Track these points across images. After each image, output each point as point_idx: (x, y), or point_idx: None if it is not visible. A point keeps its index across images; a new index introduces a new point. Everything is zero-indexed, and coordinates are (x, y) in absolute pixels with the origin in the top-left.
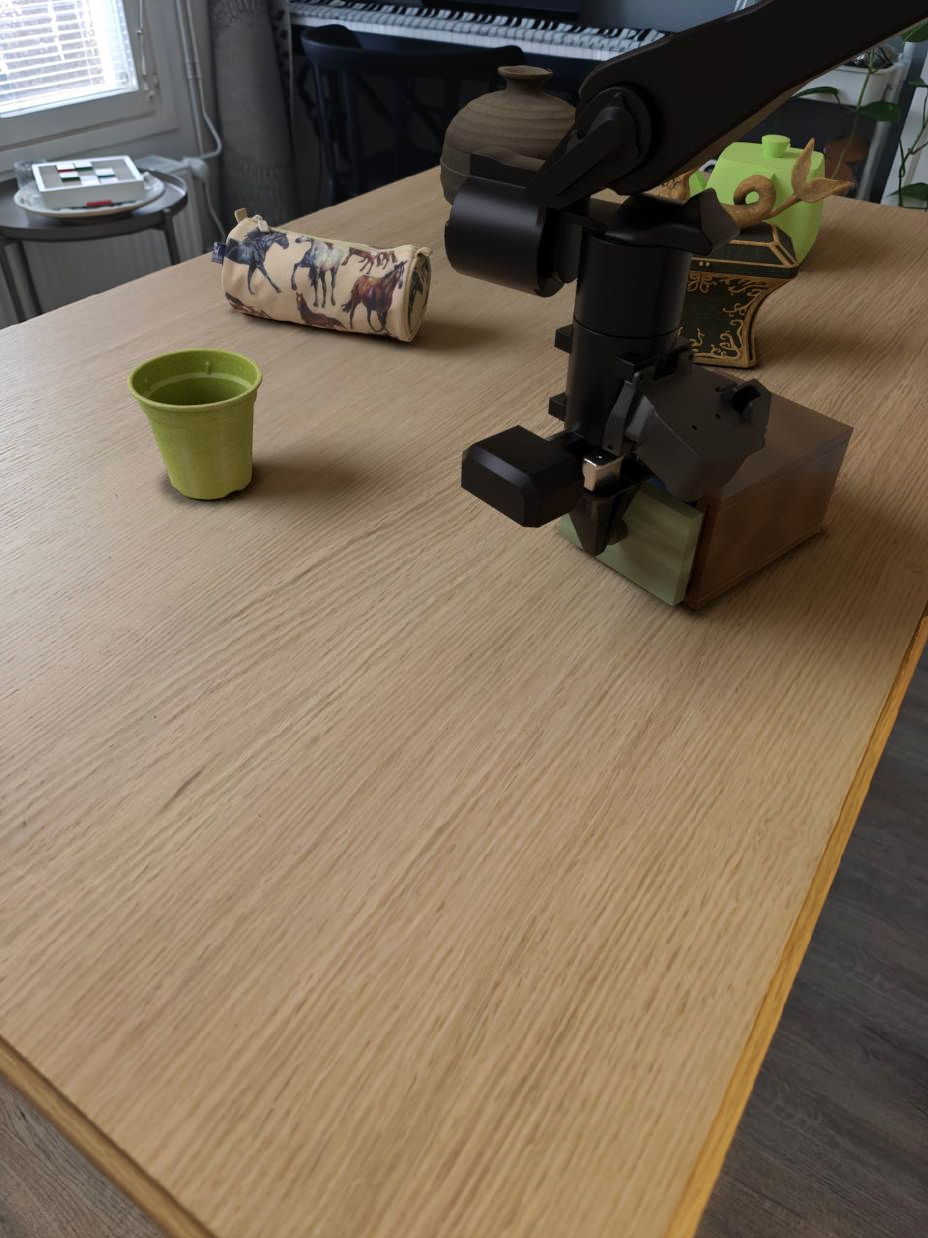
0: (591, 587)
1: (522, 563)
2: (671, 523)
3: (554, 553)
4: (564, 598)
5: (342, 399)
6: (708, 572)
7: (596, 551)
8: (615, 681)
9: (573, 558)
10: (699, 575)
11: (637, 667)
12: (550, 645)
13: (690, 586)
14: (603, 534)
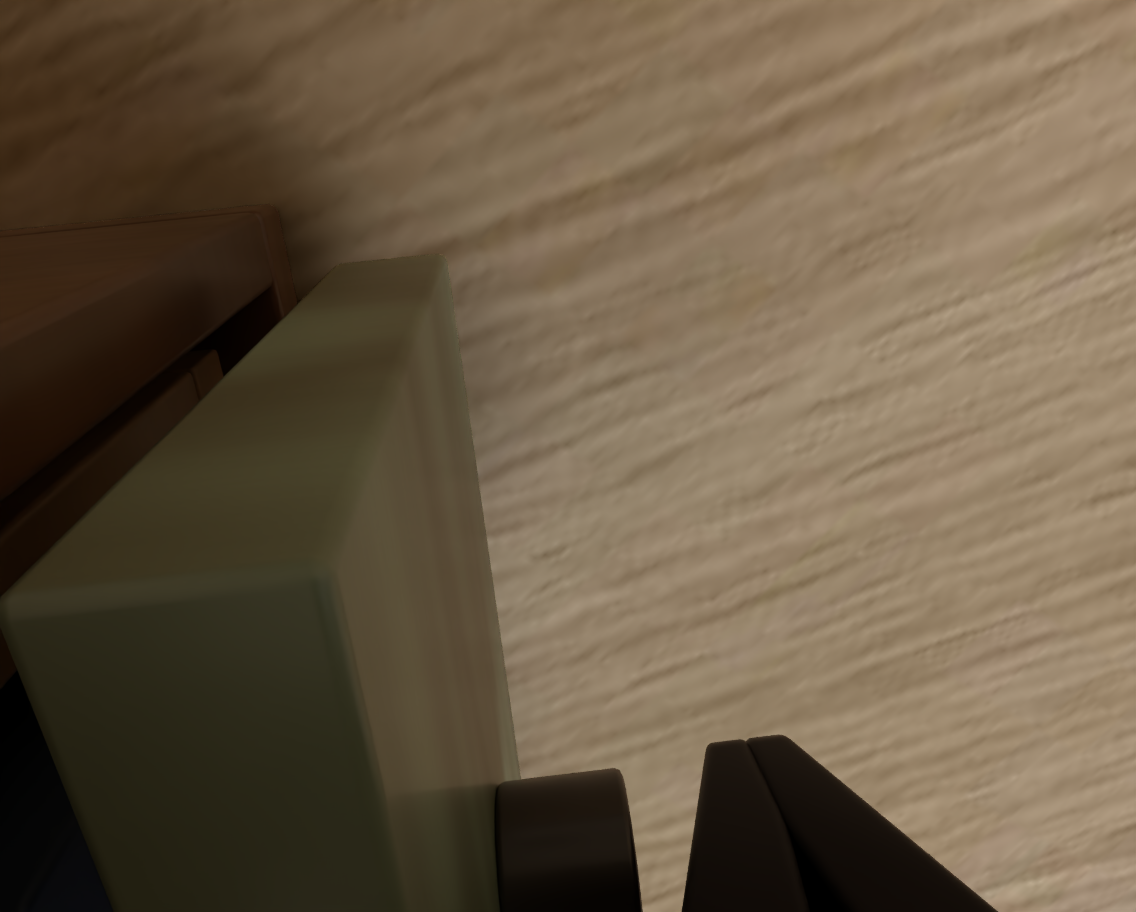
0: (622, 621)
1: None
2: (416, 699)
3: None
4: (781, 622)
5: None
6: (135, 247)
7: (814, 761)
8: (1074, 12)
9: None
10: (208, 276)
11: (900, 27)
12: (1084, 410)
13: (203, 342)
14: (861, 865)
